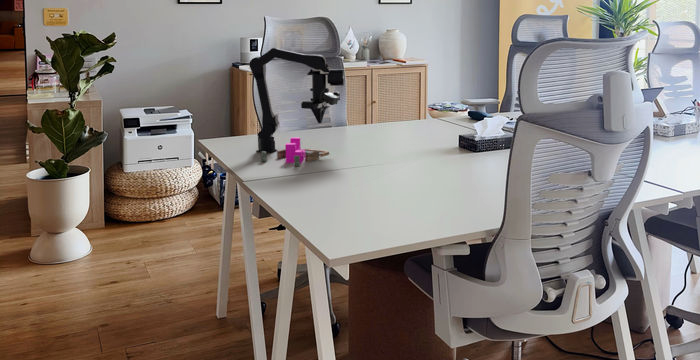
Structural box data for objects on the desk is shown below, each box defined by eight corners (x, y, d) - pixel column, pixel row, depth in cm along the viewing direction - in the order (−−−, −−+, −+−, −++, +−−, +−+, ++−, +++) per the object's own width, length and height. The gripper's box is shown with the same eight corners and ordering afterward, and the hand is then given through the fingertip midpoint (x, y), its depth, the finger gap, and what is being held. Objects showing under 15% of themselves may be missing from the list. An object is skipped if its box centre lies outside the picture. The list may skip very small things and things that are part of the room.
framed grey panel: (260, 162, 288) (260, 152, 287) (300, 150, 311) (299, 141, 310) (297, 167, 279) (297, 156, 278) (335, 154, 301) (335, 145, 300)
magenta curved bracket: (301, 163, 286) (301, 144, 285) (285, 163, 287) (285, 144, 285) (306, 155, 301) (306, 137, 299) (291, 155, 301) (291, 137, 300)
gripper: (323, 89, 289) (323, 128, 293) (347, 84, 305) (348, 121, 308) (299, 87, 295) (300, 126, 299) (325, 83, 310) (325, 119, 314)
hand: (319, 123), depth 305 cm, fingers closed
